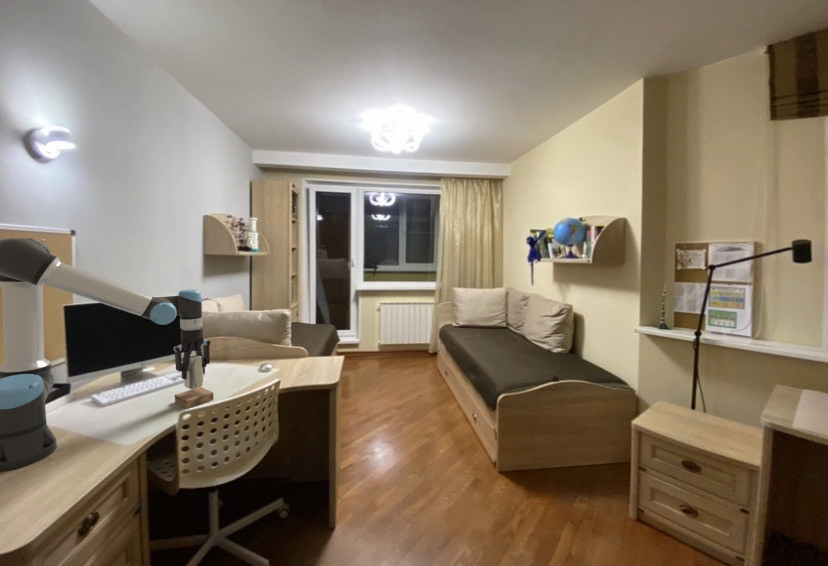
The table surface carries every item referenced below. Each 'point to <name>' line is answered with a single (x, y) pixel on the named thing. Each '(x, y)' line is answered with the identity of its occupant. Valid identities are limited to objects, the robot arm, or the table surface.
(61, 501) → the table surface
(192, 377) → the box
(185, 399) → the base
